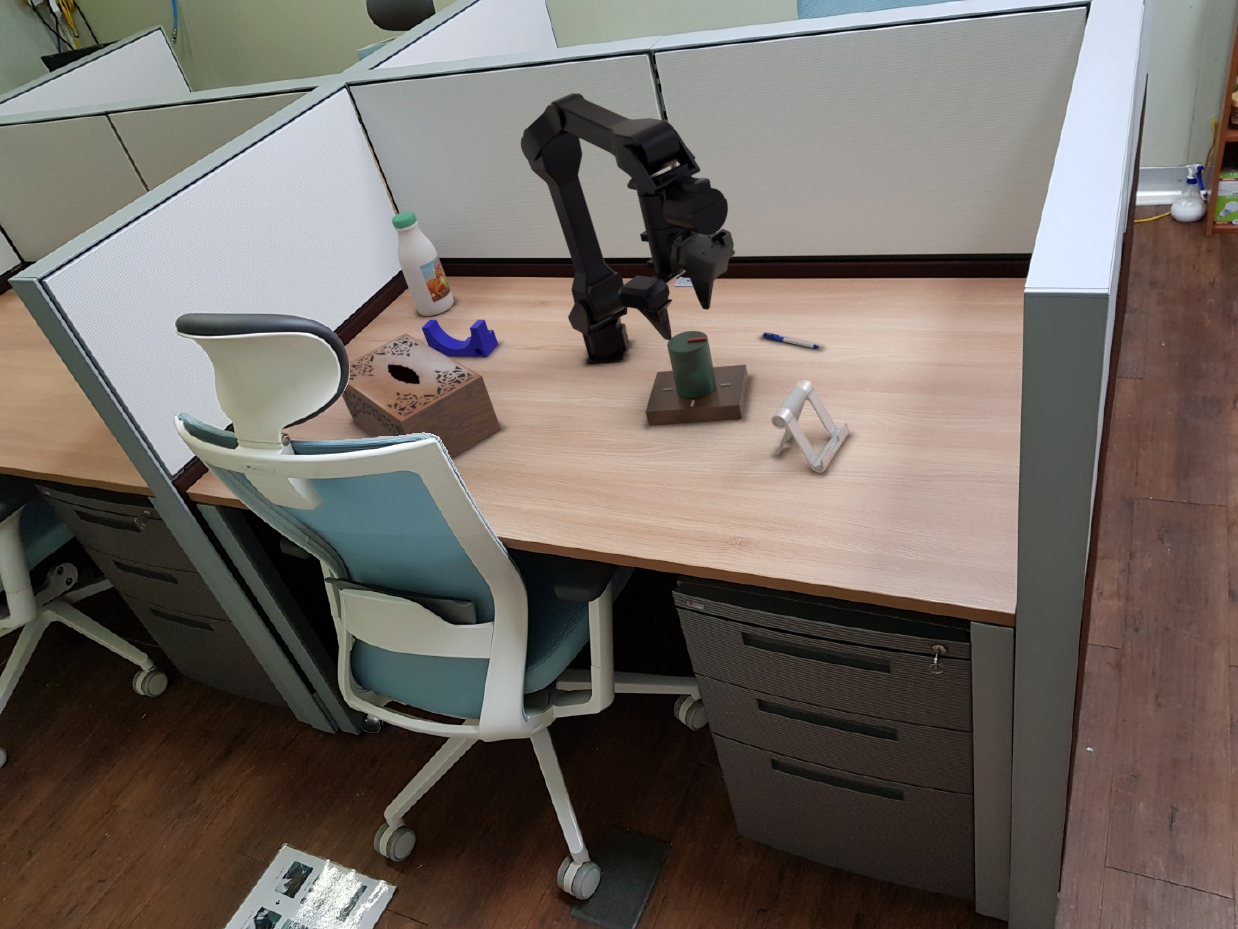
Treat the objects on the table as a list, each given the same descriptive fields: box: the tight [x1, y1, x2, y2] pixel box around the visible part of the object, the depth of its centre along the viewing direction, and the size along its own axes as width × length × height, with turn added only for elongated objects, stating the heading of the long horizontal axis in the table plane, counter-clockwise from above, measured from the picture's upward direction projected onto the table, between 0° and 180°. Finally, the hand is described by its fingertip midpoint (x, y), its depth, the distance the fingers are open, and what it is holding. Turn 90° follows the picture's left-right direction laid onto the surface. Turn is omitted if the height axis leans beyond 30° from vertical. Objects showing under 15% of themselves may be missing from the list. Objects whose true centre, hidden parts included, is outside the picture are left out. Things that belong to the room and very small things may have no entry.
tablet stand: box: [770, 379, 850, 474], centre depth 123 cm, size 9×8×8 cm
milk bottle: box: [391, 210, 455, 317], centre depth 184 cm, size 8×8×20 cm
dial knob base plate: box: [645, 364, 749, 426], centre depth 140 cm, size 14×11×3 cm
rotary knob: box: [666, 330, 716, 398], centre depth 137 cm, size 6×6×8 cm
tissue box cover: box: [341, 332, 502, 459], centre depth 150 cm, size 26×14×10 cm, turn 39°
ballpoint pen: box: [762, 332, 820, 349], centre depth 148 cm, size 10×1×1 cm, turn 50°
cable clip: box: [421, 319, 499, 358], centre depth 170 cm, size 12×4×6 cm, turn 68°
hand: (687, 323), depth 133 cm, fingers open, 9 cm apart
